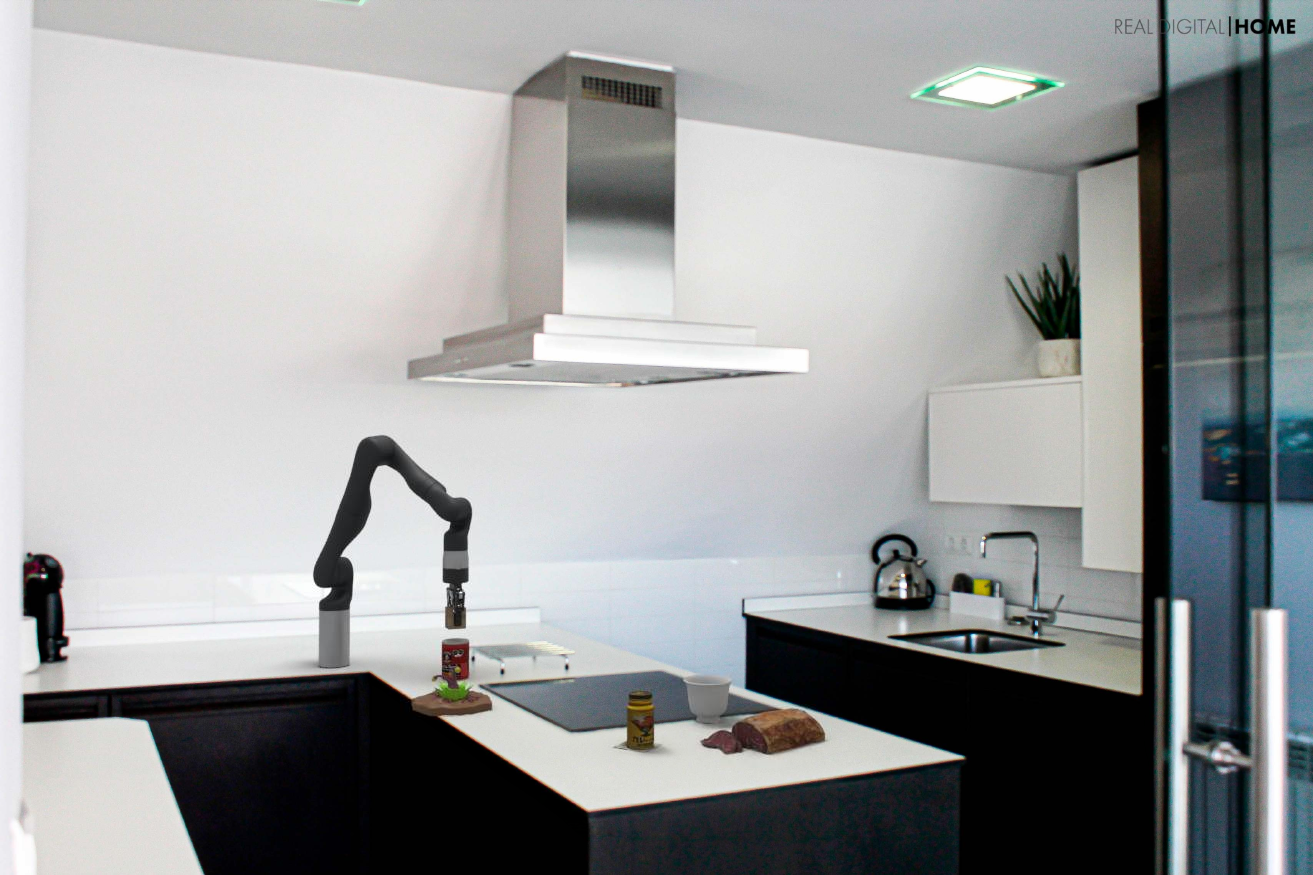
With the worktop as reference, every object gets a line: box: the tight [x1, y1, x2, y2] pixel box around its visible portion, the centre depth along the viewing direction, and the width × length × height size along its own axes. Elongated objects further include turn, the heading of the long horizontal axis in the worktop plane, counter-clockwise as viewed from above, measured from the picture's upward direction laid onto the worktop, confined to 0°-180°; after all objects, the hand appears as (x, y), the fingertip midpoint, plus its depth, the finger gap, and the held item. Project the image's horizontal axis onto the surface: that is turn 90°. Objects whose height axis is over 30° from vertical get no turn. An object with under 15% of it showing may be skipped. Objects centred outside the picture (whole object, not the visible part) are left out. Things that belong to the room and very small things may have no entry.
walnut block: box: [444, 605, 467, 630], centre depth 320 cm, size 5×5×6 cm
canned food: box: [441, 637, 470, 681], centre depth 320 cm, size 8×8×11 cm
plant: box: [411, 666, 493, 717], centre depth 282 cm, size 20×20×11 cm
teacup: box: [683, 673, 733, 724], centre depth 269 cm, size 12×15×10 cm
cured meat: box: [699, 707, 826, 755], centre depth 247 cm, size 18×25×7 cm
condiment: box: [613, 690, 662, 753], centre depth 244 cm, size 7×8×12 cm
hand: (455, 624), depth 320 cm, fingers closed on walnut block, 5 cm apart
